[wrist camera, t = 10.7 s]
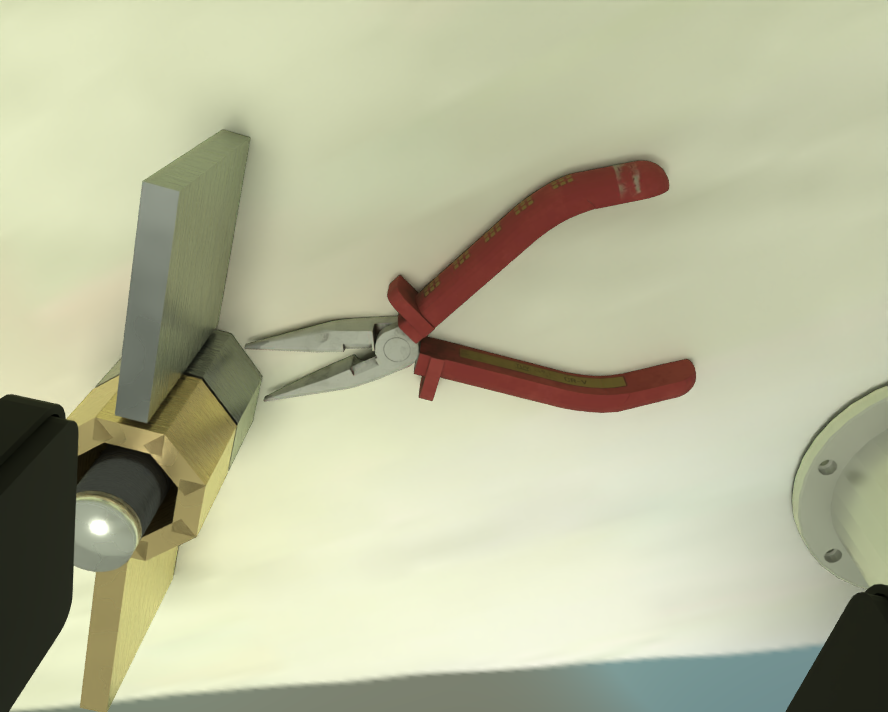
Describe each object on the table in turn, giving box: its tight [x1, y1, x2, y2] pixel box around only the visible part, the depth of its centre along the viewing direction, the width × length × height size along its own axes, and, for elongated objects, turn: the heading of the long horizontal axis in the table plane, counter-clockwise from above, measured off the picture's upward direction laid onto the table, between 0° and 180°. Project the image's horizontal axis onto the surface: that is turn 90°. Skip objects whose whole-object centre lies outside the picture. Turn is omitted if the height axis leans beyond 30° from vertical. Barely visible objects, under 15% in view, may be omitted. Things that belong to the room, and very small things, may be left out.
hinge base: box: [95, 130, 262, 471], centre depth 33 cm, size 6×16×9 cm, turn 164°
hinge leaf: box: [67, 374, 237, 712], centre depth 37 cm, size 6×16×9 cm, turn 164°
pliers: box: [245, 161, 696, 413], centre depth 37 cm, size 12×20×3 cm, turn 104°
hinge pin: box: [74, 444, 174, 572], centre depth 34 cm, size 3×3×12 cm
